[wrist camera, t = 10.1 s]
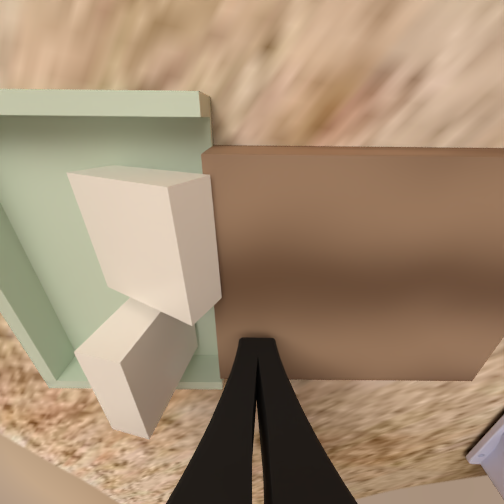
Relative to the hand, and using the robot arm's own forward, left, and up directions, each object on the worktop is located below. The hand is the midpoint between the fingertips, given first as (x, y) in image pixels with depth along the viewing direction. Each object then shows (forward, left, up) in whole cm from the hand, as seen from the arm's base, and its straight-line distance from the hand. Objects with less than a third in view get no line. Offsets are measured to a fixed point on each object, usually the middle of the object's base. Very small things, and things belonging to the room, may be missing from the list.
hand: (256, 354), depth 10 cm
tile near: (+5, +3, -2) cm, 6 cm away
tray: (+2, +6, -3) cm, 7 cm away
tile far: (0, +3, 0) cm, 4 cm away
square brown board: (+2, -4, -3) cm, 6 cm away
